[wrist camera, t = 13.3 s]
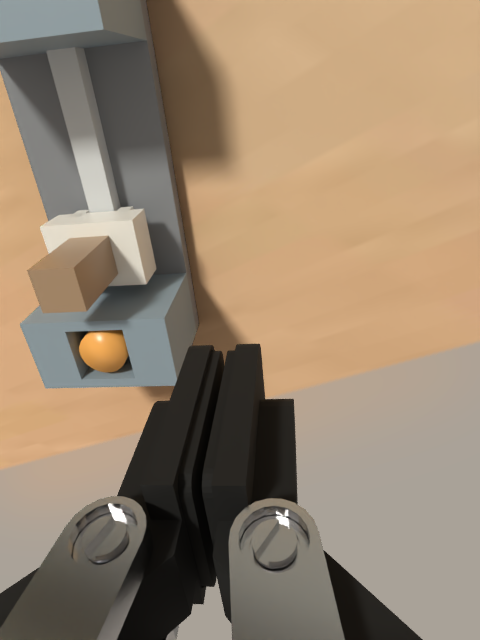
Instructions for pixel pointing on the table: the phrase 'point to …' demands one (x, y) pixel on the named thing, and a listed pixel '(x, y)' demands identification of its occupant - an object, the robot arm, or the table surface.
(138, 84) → the rail bed
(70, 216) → the carriage
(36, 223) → the table surface
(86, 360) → the button
